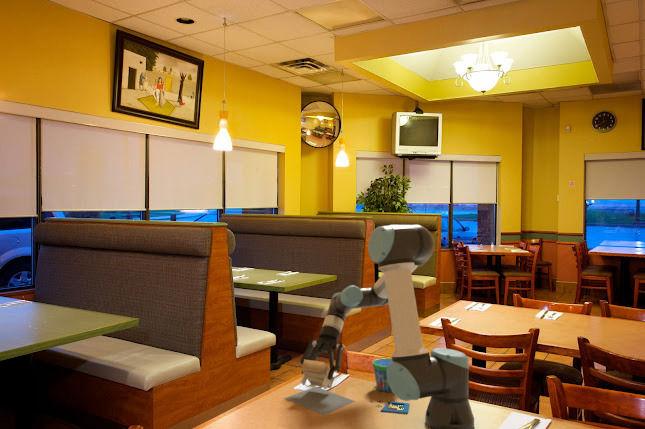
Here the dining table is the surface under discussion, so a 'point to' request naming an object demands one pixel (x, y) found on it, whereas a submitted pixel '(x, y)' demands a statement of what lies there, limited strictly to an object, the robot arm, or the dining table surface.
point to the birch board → (316, 372)
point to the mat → (319, 400)
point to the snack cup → (382, 374)
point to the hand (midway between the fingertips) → (313, 385)
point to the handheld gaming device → (389, 409)
